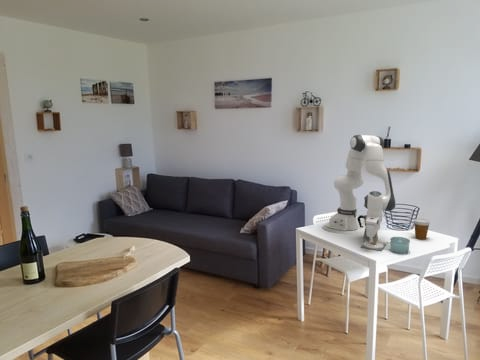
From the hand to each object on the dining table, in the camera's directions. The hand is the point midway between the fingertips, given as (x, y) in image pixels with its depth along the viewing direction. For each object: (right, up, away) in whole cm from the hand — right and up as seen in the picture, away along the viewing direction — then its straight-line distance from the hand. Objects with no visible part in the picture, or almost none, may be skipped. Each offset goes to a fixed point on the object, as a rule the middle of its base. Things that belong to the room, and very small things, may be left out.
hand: (373, 239), depth 219 cm
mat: (0, -4, +1) cm, 4 cm away
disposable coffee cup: (+36, -2, +14) cm, 39 cm away
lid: (0, -4, +1) cm, 4 cm away
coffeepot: (+3, -2, +15) cm, 16 cm away
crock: (+13, -5, -7) cm, 16 cm away
